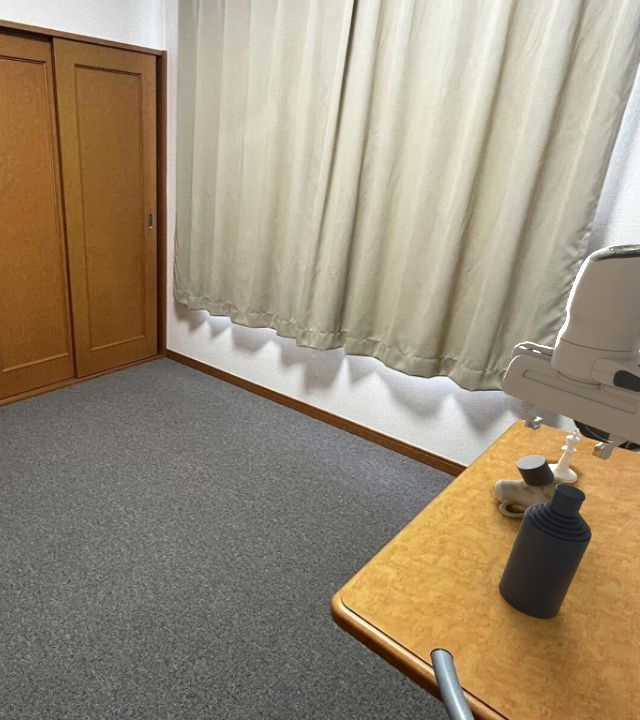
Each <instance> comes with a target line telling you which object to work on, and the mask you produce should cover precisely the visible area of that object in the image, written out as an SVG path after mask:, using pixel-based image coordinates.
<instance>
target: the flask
mask: <svg viewBox="0 0 640 720" xmlns="http://www.w3.org/2000/svg"><path fill="white" fill-rule="evenodd" d="M554 489H555V490H554V492H553V495H552V498H551V500H550V501H549V502H544V503H539V504H534V505H532V506H530V507H529V508H528V509H525V511H524V513H525V514H524V517H523V518H522V520H521V522H520V525H519V528H518V531H517V534H516V537H515V539H514V541H513V545H512V547H511V550H510V552H509V556H508V559H507V561H506V564H505V567H504V569H503V573H502V576H501V578H500V580H499V582H498V589H499V592H500V594H501V596H502V597H503V599H504V600H505V601H506V602H507V603H508V604H509V605H510V606H512V607H513V608H514V609H516V610H517V611H519V612H521V613H523V614H525V615H527V616H530V617H531V618H532V617H533V618H537V619H540V620H541V619H542V620H550V619H552V618H555V617H556V616H557V615H558V614H559V612H560V609H561V607H562V605H563V603H564V600H565V598H566V596H567V593H568V591H569V589H570V586H571V584H572V582H573V580H574V578H575V575H576V573H577V571H578V570H579V569H578V568H579V566H580V565H581V562H582V560H583V558H584V555H585V553H586V550H587V549H588V547H589V544H590V542H591V540H592V536H593V535H592V534H593V533H592V531H591V527H590V525H589V523H587V521H586V520H585V518H584V517H583V516H582V514H581V513H580V510H581V508H582V505H583V504H584V501H586V498H587V497H586V494H585V492H583V490H581V489H580V488H578V487H576V486H574V485H570V484H568V483H563V484H558V485H556V486H555V488H554Z"/></svg>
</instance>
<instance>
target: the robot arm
mask: <svg viewBox="0 0 640 720" xmlns="http://www.w3.org/2000/svg"><path fill="white" fill-rule="evenodd" d="M510 361H511V362H510V363H509V365H508V368H507V370H506V371H505V374H504V376H503V379H502V382H501V389H502V391H503V393H504V394H505V395H508V396H510V397H513V398H514V399H518V400H521V401H522V403H521V409H522V411H523V414H524V416H525V422H524V427H525V428H527V429H529V430H533V431H536V430H539V429H540V428H541V426H542V423H543V420H544V419H543V418H541V417H539V416H538V413H537V410H536V408H537V407H539V408H541V409H544V410H546V411H549V412H551V413H555V414H558V415H560V416H564V417H565V418H568V419H571V420H573V421H576V422H578V423H580V424H584V425H586V426H589V427H592V428H593V429H594V428H595V429H597V430H600V431H602V432H605V433H608V434H609V435H608V438H607V439H608V441H611V442H610V443H607V444H606V443H605V442H600V443H599V444H596V445H594V447H593V451H592V453H591V454H592V456H593V457H596V458H599V459H601V460H603V461H606V460H608V459H610V458H611V456H612V454H613V451H614V449H615V448H617V447H619V446H621V445H622V444H624V443H626V442H631V443H633V444H637V445H639V446H640V243H628V244H627V243H626V244H625V243H624V244H618V245H611V246H607V247H603V248H600V249H599V250H596V251H594V252H592V253H591V254H589V256H588V257H587V258H586V259H585V260H584V262H583V264H582V265H581V267H580V269H579V271H578V273H577V275H576V278H575V281H574V283H573V286H572V289H571V291H570V294H569V298H568V300H567V303H566V320H565V322H564V324H563V326H562V327H561V328H560V330H559V332H558V334H557V339H556V342H555V345H554V347H549V346H545V345H540V344H537V343H534V342H530V341H525V342H521V343H518V344H517V345H515V346H514V347H513V349H512V351H511V355H510Z"/></svg>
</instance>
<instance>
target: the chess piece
mask: <svg viewBox="0 0 640 720" xmlns="http://www.w3.org/2000/svg"><path fill="white" fill-rule="evenodd" d="M579 433H580V429H579V428H577V427H575V429H574V431H573V432H572V434H571V435H570V434H569V435H566V437H565V440H566V445H563V446H562V447H561V450H562V451H563V454H562V456H561V457H560V459H559V461H558V462H557V463H555V464H554V463H550V464H549V463H548V465H549V467H550V469H551V470H552V472H553V474H554V475H557V476H561V477H562V479H563V484H574V483H576V482H577V479H578V474H577V473H576V472H575V471H574V470H572V469H571V468H570V462H571V457H572V454H573V455H574V454H577V452H578V451H577V449H576V447H577V446H578V444H580V443H581V438H579V437H578V434H579Z"/></svg>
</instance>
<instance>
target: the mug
mask: <svg viewBox="0 0 640 720" xmlns="http://www.w3.org/2000/svg"><path fill="white" fill-rule="evenodd" d="M558 484H564V482H563V479H562V477H561V476H557V475H554V480H553V481H552V482H550V483H549V484H546V485H543V486H530V485H528V484H526V483H525V481H524V480H523V478H521V479H499V480H498V481H496V483H495V485H494V496H495V498H496V499H497V500H498V501H499V502H500V504H499V507H498V511H499V512H500V513H501V514H502V515H504V516H506V517H508V518H512V519H523V517H524V514H525V512H521V513H514V512H513V513H512V512H510V511H508V510H507V507H508V506H518V507H521V508H523V509H525V510H527V509H528V508H529V507H530V506H532V505H534V504H539V503H544V502H549V501H550V500H551V498H552V495H553V492H554V490H555V489H554V488H555V486H556V485H558Z"/></svg>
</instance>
